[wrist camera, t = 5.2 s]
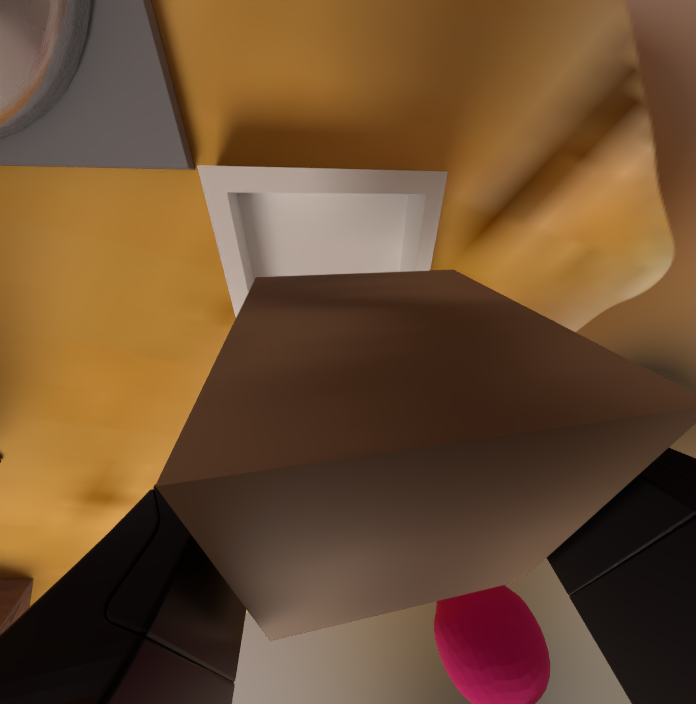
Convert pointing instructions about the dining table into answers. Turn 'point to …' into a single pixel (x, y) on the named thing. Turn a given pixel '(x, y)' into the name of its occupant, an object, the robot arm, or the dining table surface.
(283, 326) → the block
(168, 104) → the crank board
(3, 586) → the tissue box cover
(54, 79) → the crank
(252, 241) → the tray
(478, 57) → the dining table surface
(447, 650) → the pepper mill
